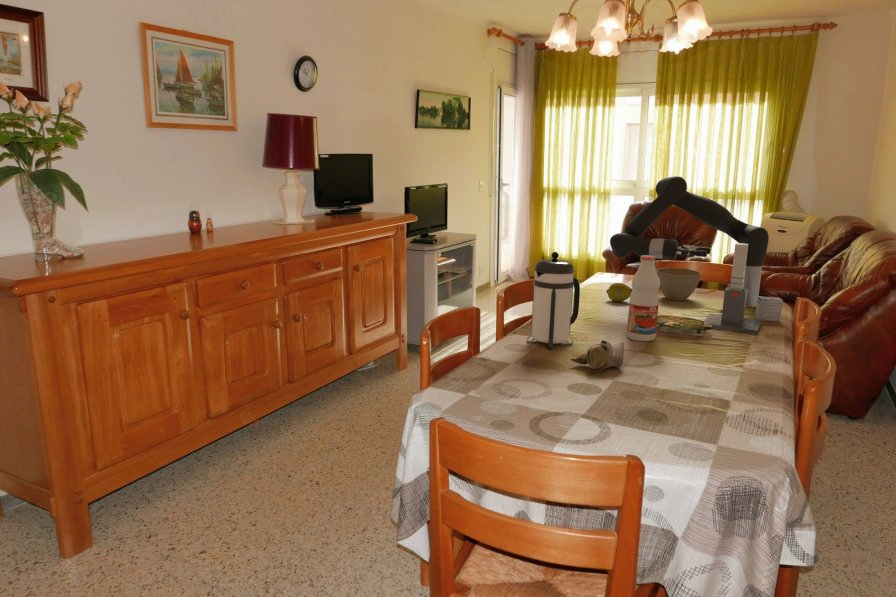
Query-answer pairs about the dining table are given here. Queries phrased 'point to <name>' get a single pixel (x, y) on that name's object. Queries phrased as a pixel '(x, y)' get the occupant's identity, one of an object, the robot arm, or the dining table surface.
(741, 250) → the column
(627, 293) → the lemon
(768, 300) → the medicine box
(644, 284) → the fruit juice
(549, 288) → the coffee press
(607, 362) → the ceramic sculpture
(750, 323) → the stand
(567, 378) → the dining table surface
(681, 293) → the beige bowl
